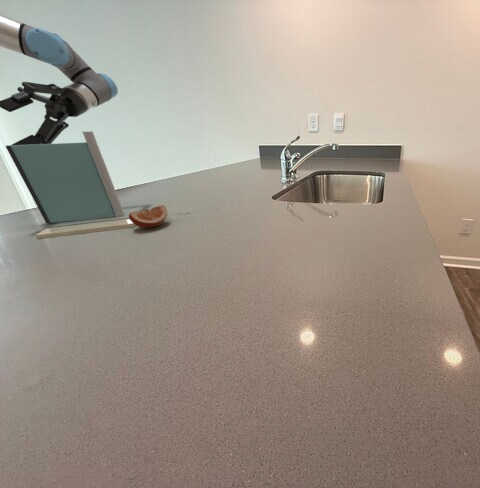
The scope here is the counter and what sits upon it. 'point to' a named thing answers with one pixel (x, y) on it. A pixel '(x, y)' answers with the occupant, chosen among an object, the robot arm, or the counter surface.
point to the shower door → (62, 180)
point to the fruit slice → (149, 217)
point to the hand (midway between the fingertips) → (10, 129)
